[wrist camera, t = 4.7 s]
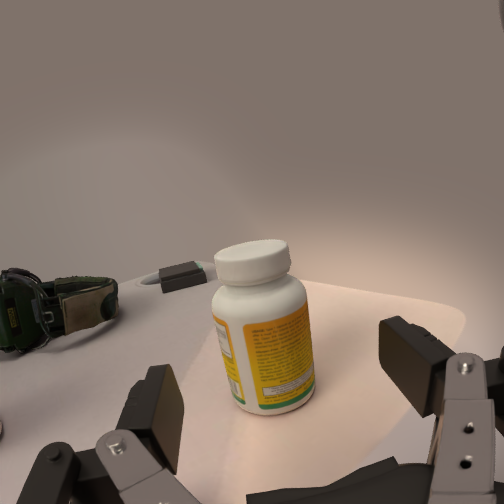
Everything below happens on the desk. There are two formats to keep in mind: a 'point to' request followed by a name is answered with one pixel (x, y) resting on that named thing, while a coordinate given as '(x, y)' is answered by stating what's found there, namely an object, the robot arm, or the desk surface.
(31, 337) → the headphones
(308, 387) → the supplement bottle
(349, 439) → the desk surface
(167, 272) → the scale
